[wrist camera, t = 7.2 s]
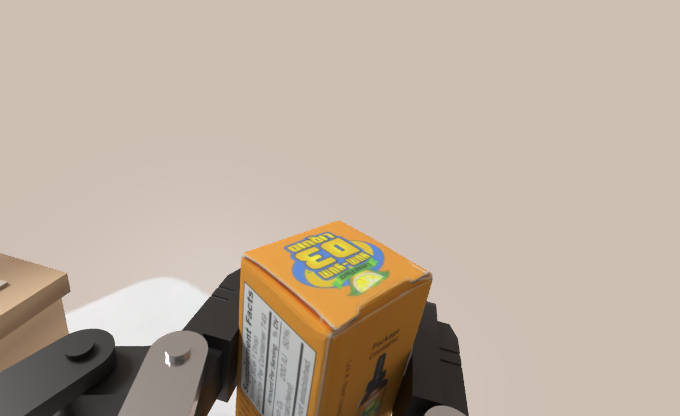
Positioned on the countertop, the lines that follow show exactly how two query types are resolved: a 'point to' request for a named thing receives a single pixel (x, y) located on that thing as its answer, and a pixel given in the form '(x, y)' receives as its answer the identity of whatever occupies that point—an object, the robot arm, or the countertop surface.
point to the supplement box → (326, 324)
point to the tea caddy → (29, 308)
